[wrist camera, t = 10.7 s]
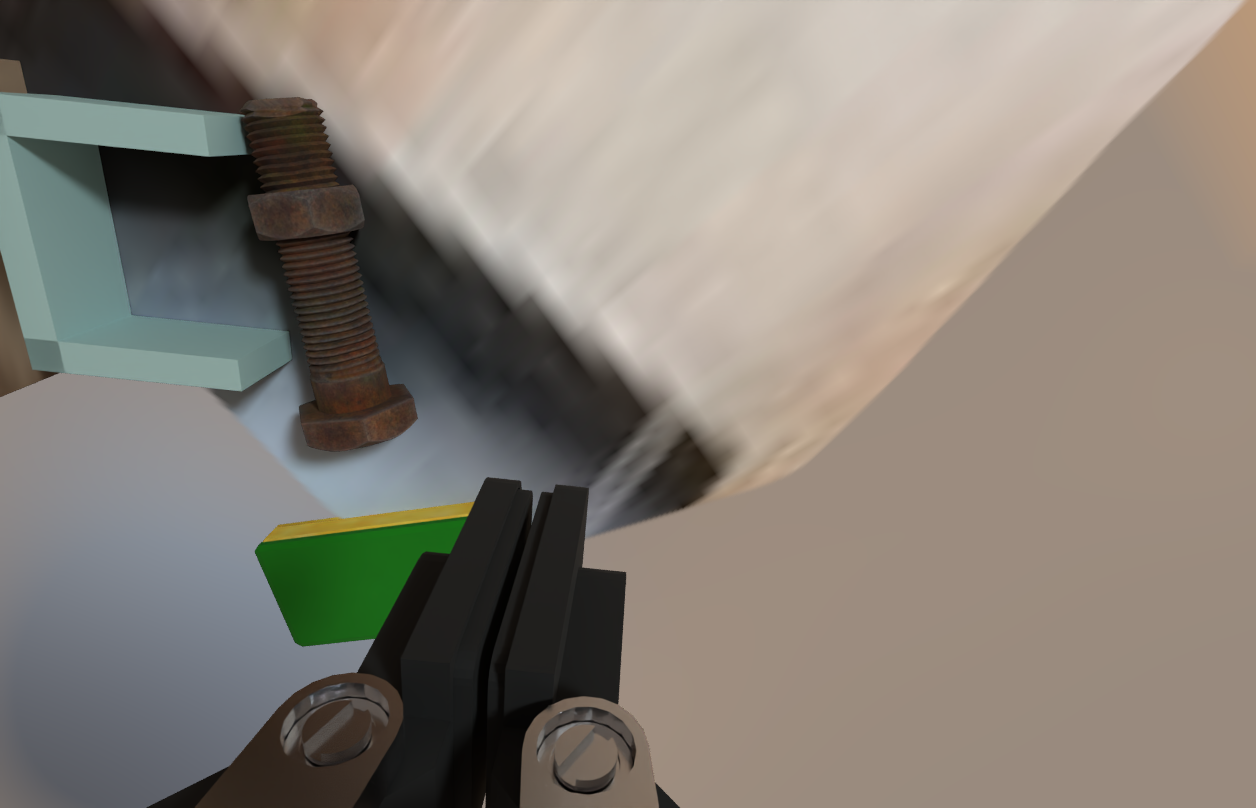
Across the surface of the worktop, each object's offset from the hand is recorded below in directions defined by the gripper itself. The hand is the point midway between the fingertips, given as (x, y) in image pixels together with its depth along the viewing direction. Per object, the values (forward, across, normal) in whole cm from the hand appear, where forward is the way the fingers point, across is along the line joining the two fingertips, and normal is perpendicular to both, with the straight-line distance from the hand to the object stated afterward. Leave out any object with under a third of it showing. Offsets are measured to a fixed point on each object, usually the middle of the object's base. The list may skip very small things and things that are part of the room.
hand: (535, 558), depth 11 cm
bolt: (+23, +13, +1) cm, 26 cm away
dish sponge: (+23, +11, +18) cm, 31 cm away
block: (+23, +21, 0) cm, 31 cm away
